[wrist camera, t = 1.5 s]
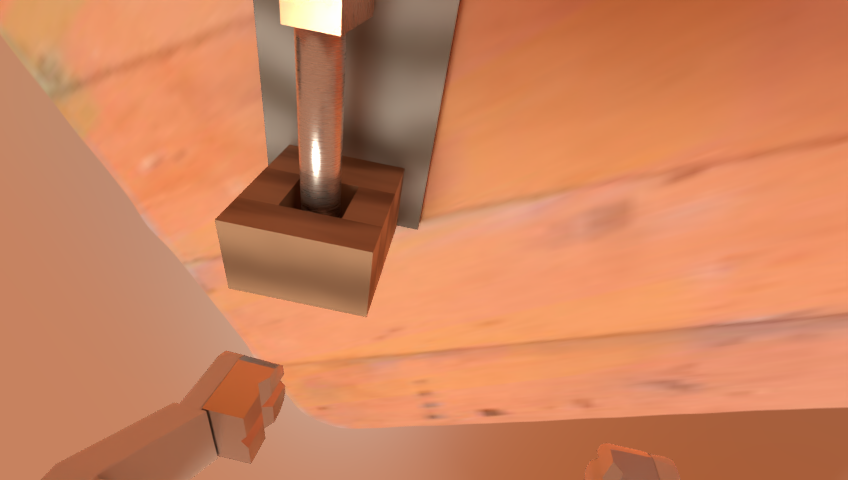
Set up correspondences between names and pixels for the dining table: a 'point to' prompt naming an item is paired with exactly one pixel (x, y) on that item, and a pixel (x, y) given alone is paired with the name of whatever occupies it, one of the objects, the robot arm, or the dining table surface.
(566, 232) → the dining table surface
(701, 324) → the dining table surface
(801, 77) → the dining table surface
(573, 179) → the dining table surface
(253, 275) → the eye post
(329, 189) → the hook rod
